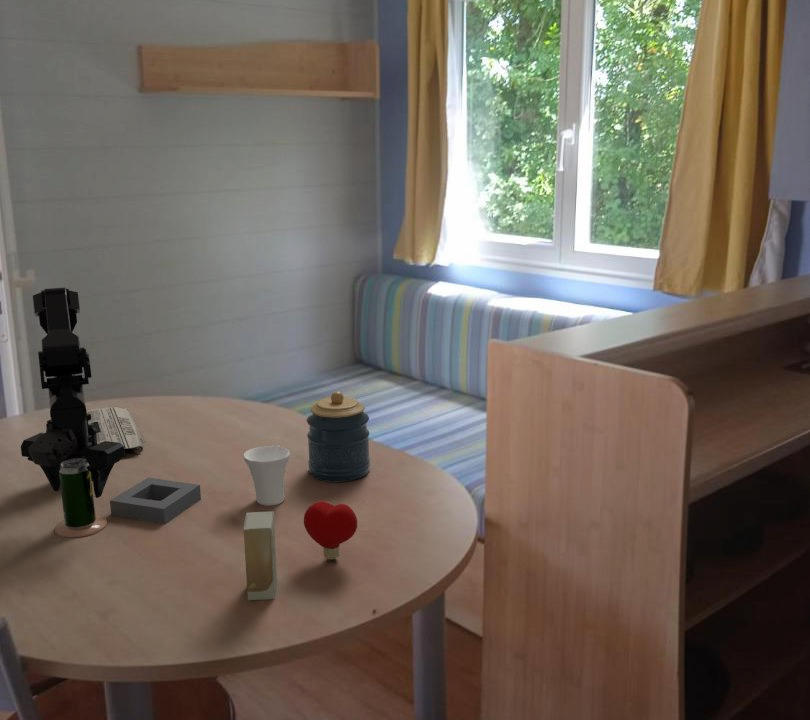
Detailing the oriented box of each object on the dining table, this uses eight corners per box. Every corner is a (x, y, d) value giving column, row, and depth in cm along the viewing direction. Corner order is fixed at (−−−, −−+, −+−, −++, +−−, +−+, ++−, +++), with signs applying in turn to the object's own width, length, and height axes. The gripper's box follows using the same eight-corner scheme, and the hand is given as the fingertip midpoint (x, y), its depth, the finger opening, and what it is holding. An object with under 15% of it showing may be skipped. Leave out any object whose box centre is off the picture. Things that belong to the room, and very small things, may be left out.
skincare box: (250, 581, 143) (246, 511, 140) (277, 580, 143) (274, 509, 140) (246, 602, 137) (242, 528, 134) (275, 600, 137) (271, 527, 134)
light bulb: (365, 554, 152) (363, 499, 149) (349, 573, 145) (347, 516, 143) (315, 546, 154) (313, 493, 152) (297, 565, 148) (295, 509, 146)
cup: (301, 494, 177) (299, 447, 174) (275, 512, 168) (273, 463, 166) (263, 487, 180) (261, 441, 178) (236, 505, 172) (233, 456, 170)
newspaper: (77, 420, 226) (75, 406, 225) (127, 412, 231) (126, 399, 230) (96, 465, 195) (95, 449, 194) (154, 455, 200) (153, 440, 199)
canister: (319, 487, 180) (316, 404, 176) (301, 466, 192) (297, 387, 187) (379, 477, 185) (377, 395, 181) (357, 456, 197) (355, 380, 192)
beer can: (69, 533, 160) (61, 471, 157) (62, 523, 164) (55, 461, 161) (99, 526, 162) (93, 464, 159) (92, 516, 167) (85, 455, 164)
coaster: (44, 533, 161) (43, 531, 161) (77, 513, 169) (77, 511, 169) (85, 540, 158) (84, 538, 158) (117, 520, 166) (117, 518, 166)
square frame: (111, 515, 168) (109, 500, 167) (149, 491, 179) (148, 477, 178) (165, 523, 164) (163, 508, 163) (200, 499, 175) (199, 484, 174)
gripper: (-8, 420, 154) (3, 504, 157) (81, 431, 147) (90, 518, 151) (38, 402, 164) (48, 481, 168) (123, 412, 157) (131, 494, 161)
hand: (77, 493), depth 162 cm, fingers open, 9 cm apart
